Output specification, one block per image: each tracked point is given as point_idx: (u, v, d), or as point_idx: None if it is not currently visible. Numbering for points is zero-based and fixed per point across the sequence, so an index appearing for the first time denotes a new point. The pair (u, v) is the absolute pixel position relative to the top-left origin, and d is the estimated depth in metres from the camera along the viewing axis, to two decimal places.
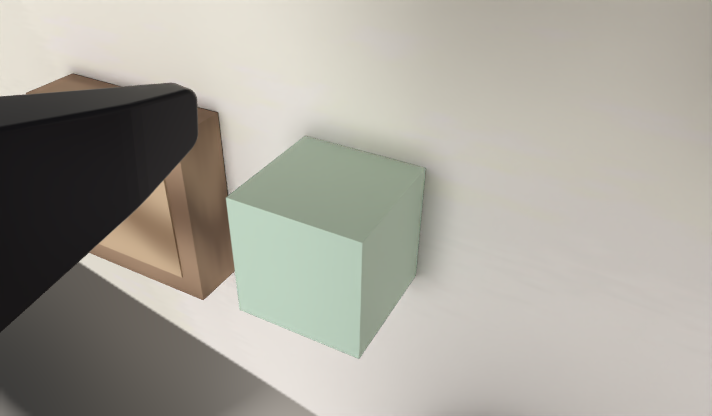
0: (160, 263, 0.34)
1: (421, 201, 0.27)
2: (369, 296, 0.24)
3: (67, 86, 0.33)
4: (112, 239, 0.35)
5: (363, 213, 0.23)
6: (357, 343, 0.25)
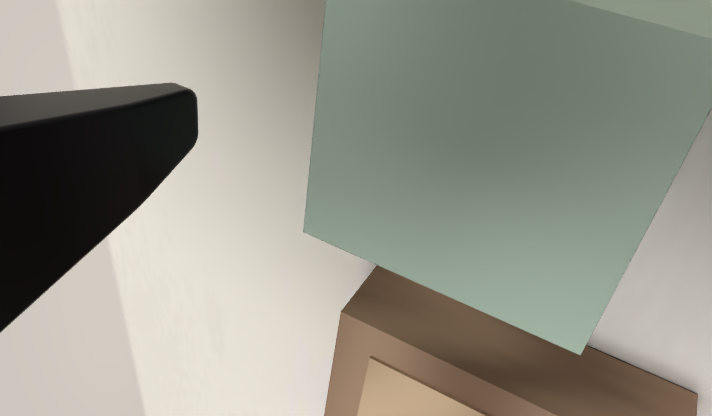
0: None
1: None
2: None
3: None
4: None
5: None
6: (670, 35, 0.08)
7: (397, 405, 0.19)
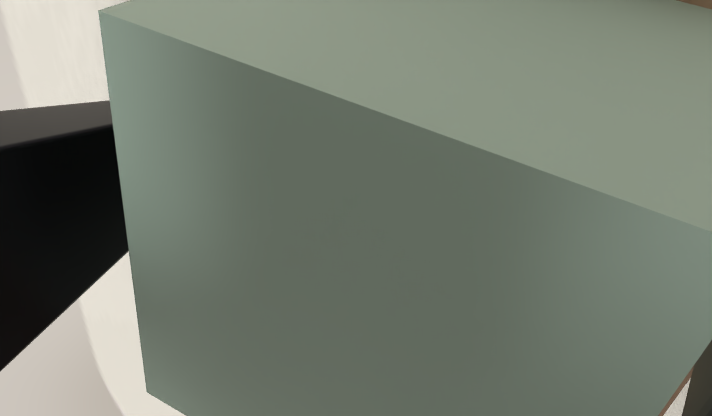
0: None
1: None
2: (430, 84, 0.06)
3: None
4: None
5: None
6: (636, 216, 0.04)
7: None
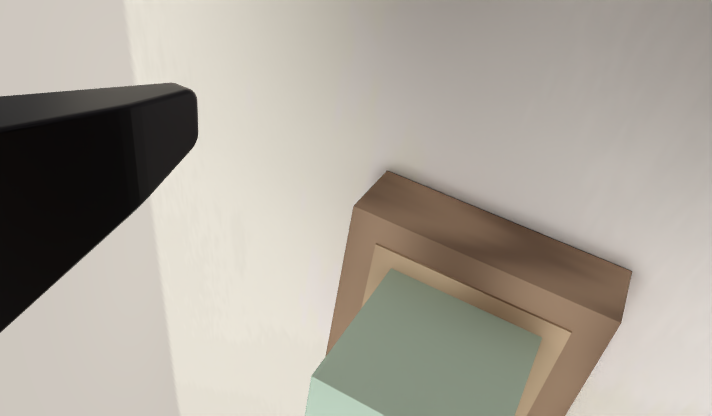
0: (547, 356, 0.22)
1: (427, 289, 0.23)
2: (414, 406, 0.19)
3: None
4: None
5: None
6: None
7: None
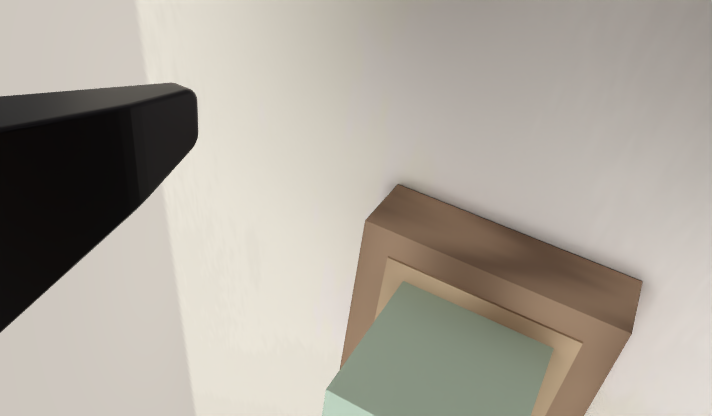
0: (559, 366, 0.22)
1: (439, 301, 0.23)
2: None
3: None
4: None
5: None
6: None
7: None
